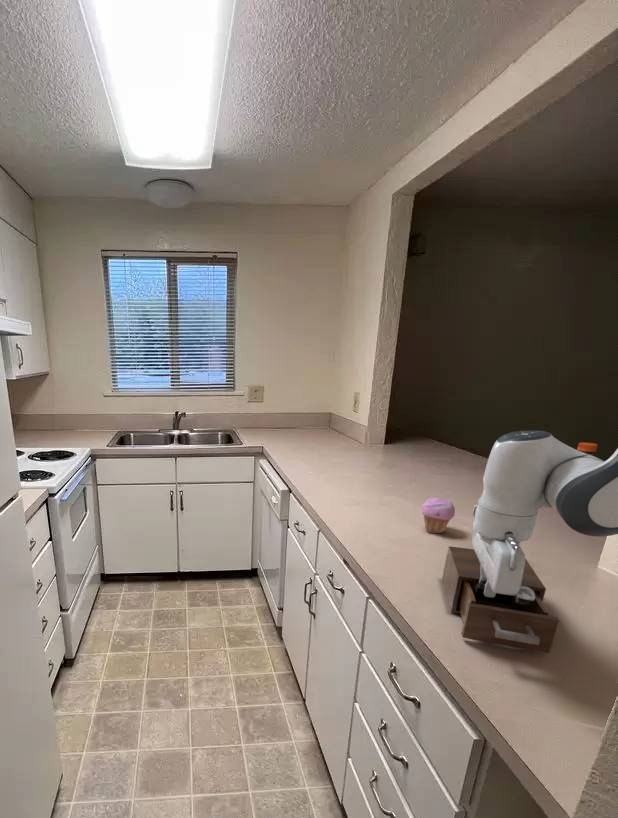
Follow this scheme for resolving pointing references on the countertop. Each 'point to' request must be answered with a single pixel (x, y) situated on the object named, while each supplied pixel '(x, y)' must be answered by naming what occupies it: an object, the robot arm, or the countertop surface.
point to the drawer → (506, 621)
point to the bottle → (587, 448)
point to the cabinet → (475, 575)
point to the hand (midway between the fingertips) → (486, 590)
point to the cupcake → (437, 514)
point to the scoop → (507, 596)
